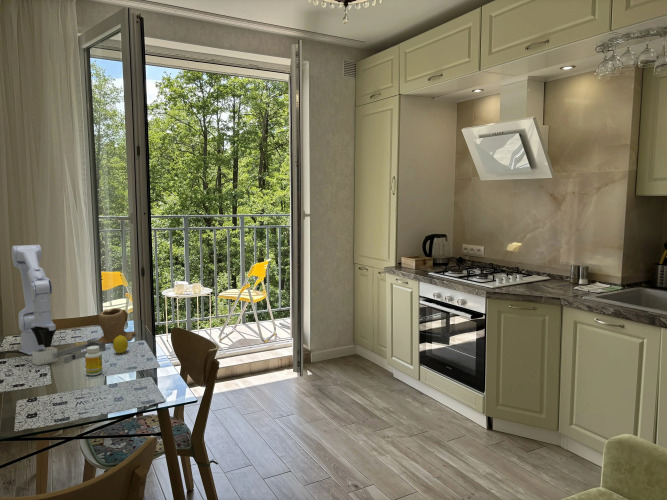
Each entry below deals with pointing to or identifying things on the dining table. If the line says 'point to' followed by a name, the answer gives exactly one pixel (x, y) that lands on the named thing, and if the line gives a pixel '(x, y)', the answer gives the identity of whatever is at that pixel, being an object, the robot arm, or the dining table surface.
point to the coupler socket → (80, 347)
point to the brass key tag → (79, 343)
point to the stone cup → (113, 325)
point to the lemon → (120, 344)
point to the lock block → (44, 355)
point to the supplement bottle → (93, 361)
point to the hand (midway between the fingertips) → (44, 345)
